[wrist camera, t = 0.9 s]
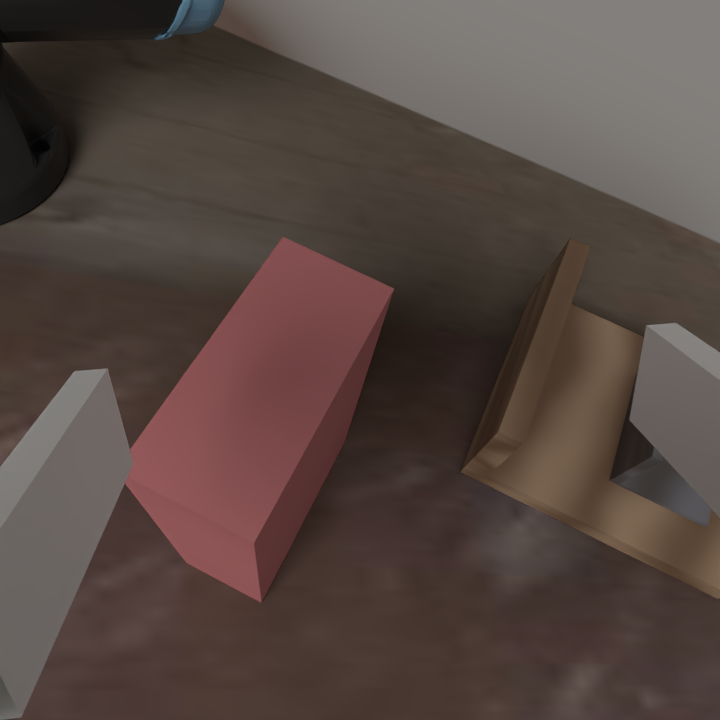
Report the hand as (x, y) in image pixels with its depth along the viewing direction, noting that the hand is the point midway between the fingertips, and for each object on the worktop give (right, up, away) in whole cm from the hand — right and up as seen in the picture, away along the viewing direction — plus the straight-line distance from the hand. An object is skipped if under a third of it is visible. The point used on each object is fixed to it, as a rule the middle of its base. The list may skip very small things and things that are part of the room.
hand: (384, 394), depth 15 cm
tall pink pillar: (-6, -8, +22) cm, 24 cm away
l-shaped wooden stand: (+17, -4, +28) cm, 33 cm away
